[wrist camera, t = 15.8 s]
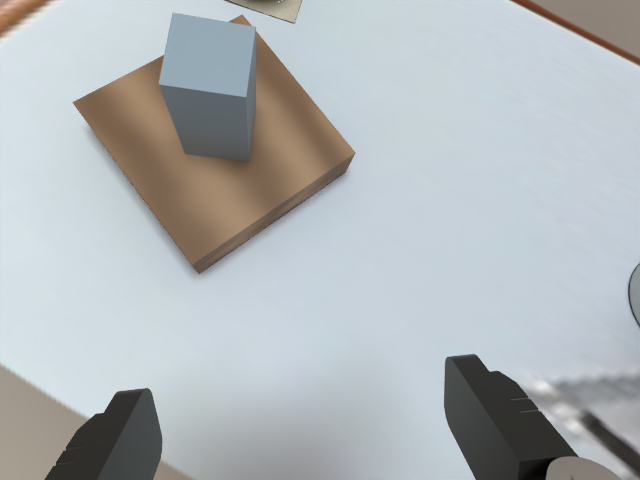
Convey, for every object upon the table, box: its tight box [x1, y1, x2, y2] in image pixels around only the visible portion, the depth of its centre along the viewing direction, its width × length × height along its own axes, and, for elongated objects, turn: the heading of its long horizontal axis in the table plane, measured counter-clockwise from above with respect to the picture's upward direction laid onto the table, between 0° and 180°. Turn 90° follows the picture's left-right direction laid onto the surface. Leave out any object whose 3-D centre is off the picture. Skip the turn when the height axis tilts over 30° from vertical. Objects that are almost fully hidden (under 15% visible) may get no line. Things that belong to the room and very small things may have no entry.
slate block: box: [159, 13, 256, 162], centre depth 29 cm, size 5×5×9 cm
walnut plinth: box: [72, 15, 355, 274], centre depth 35 cm, size 16×16×4 cm
